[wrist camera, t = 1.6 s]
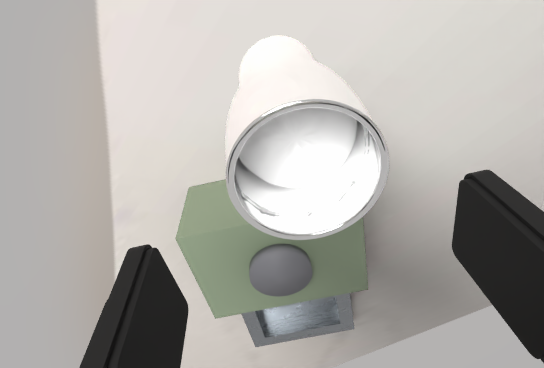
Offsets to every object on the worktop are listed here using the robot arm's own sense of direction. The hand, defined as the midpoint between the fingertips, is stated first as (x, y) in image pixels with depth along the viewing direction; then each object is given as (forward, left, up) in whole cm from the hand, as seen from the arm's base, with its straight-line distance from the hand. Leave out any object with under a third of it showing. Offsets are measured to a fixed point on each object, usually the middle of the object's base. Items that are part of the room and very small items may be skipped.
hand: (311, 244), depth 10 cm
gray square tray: (+2, +24, -19) cm, 30 cm away
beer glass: (-1, 0, -19) cm, 19 cm away
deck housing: (+2, +13, -19) cm, 23 cm away
